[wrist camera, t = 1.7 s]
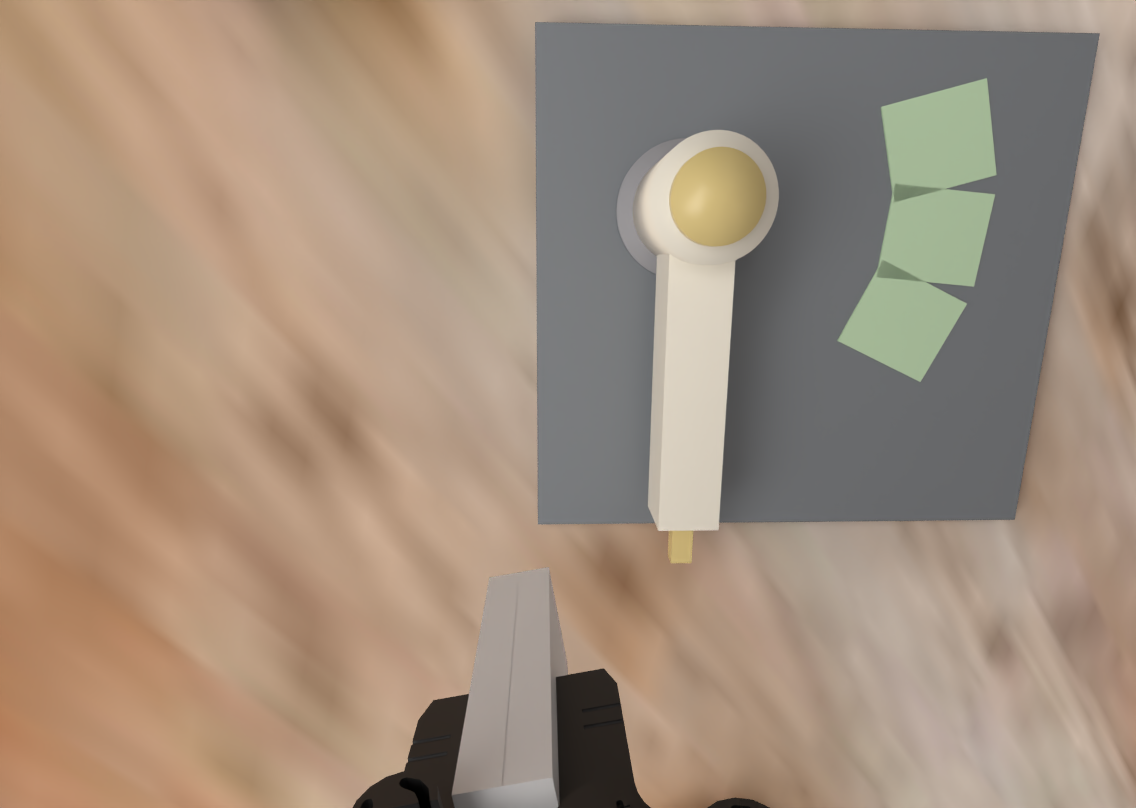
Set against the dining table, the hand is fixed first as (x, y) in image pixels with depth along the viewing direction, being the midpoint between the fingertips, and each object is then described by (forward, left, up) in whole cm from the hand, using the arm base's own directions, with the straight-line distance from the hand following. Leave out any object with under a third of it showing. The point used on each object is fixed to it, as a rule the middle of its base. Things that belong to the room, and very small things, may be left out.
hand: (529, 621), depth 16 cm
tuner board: (-7, +13, -18) cm, 23 cm away
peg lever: (-4, +7, -16) cm, 18 cm away
